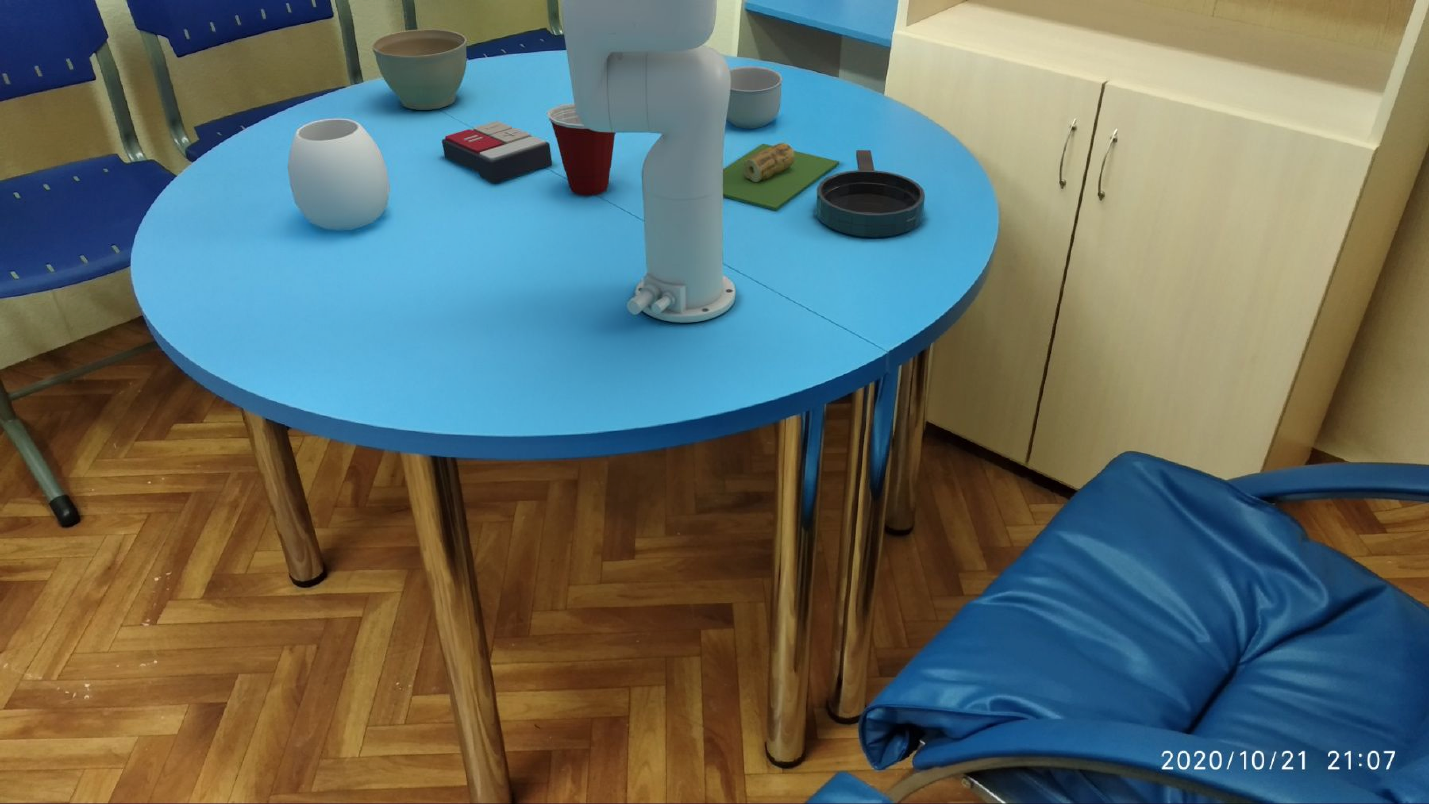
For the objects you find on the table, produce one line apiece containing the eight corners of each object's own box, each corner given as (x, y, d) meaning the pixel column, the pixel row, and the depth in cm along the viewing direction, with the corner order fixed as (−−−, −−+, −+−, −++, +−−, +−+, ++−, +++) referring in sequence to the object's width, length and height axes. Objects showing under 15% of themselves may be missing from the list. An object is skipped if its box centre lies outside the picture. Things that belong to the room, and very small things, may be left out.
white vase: (281, 231, 149) (256, 140, 141) (340, 194, 159) (320, 107, 151) (358, 246, 145) (336, 153, 137) (413, 207, 155) (397, 119, 147)
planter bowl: (464, 118, 184) (455, 55, 178) (373, 118, 185) (360, 56, 178) (482, 87, 197) (474, 28, 191) (396, 87, 198) (385, 28, 191)
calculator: (497, 118, 174) (550, 138, 165) (501, 143, 176) (553, 164, 167) (439, 135, 168) (490, 157, 159) (444, 161, 170) (494, 184, 161)
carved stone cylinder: (760, 185, 159) (760, 160, 157) (740, 177, 162) (740, 152, 159) (796, 170, 164) (797, 145, 162) (776, 162, 166) (777, 138, 164)
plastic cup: (640, 187, 160) (636, 110, 153) (587, 209, 154) (580, 131, 147) (593, 167, 166) (587, 93, 159) (539, 188, 160) (531, 112, 153)
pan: (894, 248, 143) (897, 224, 141) (797, 222, 150) (798, 198, 148) (938, 207, 154) (941, 184, 152) (845, 184, 161) (847, 162, 158)
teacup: (792, 118, 183) (793, 72, 178) (760, 138, 176) (761, 91, 171) (724, 104, 189) (724, 59, 185) (691, 122, 182) (690, 77, 177)
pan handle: (874, 178, 156) (874, 172, 156) (859, 178, 156) (859, 172, 156) (870, 156, 163) (870, 150, 162) (855, 156, 163) (856, 150, 163)
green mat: (775, 211, 153) (776, 207, 153) (695, 189, 159) (695, 186, 159) (839, 164, 167) (839, 161, 167) (763, 146, 173) (763, 143, 173)
